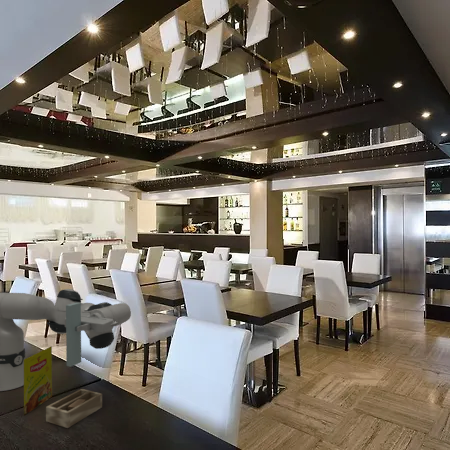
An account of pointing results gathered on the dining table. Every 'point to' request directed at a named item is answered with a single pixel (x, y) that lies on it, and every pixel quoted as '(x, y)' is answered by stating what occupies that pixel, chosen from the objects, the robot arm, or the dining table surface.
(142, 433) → the dining table surface
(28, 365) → the food package
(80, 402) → the upper offcut
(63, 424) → the slot rack
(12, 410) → the dining table surface
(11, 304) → the robot arm
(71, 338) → the blue-grey rectangular bar
